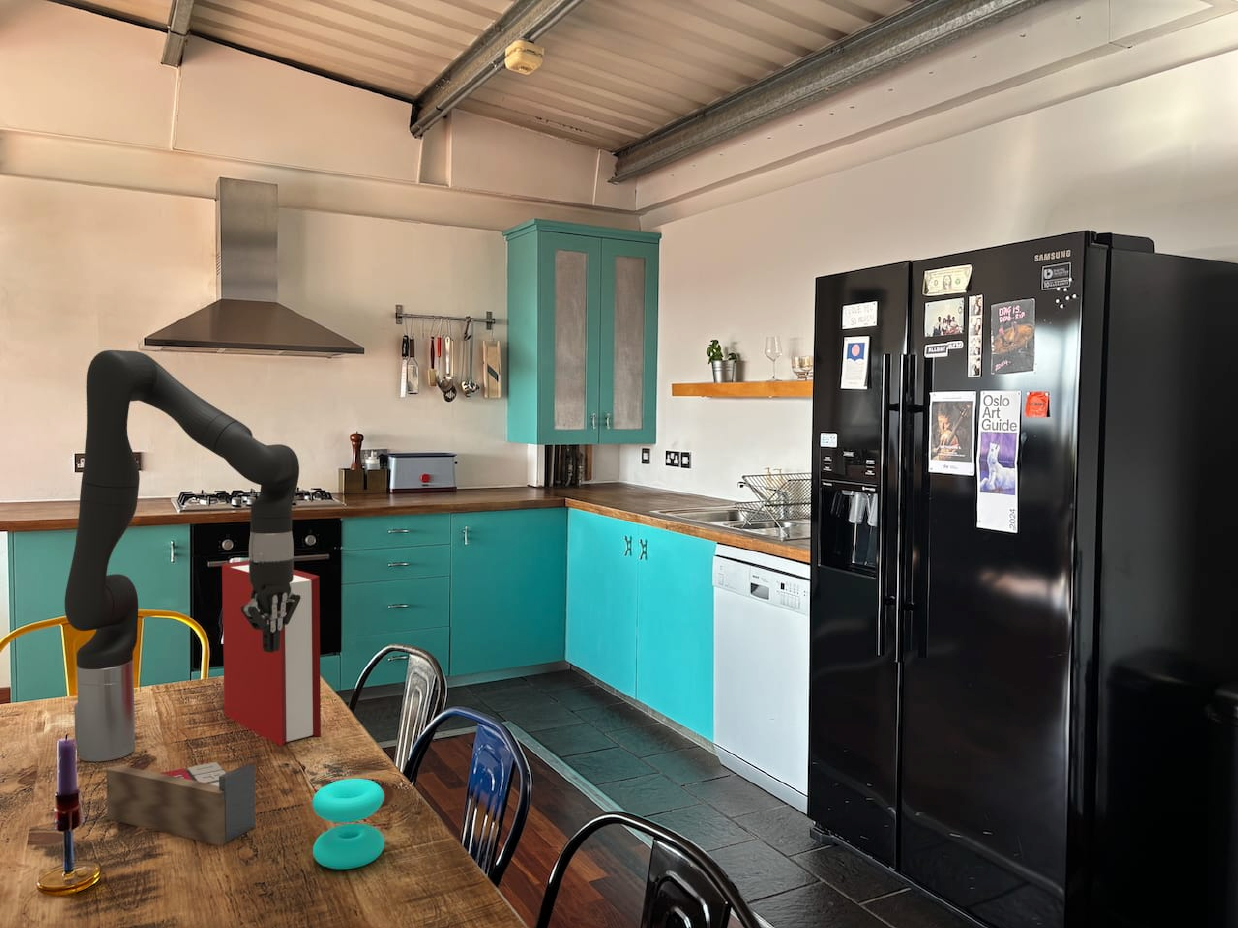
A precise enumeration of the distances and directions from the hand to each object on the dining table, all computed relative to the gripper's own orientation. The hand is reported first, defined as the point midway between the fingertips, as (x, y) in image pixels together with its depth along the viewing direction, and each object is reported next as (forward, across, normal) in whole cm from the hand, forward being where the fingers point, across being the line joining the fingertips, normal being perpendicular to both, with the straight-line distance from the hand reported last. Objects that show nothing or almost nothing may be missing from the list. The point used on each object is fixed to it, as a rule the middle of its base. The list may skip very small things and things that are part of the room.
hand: (271, 651), depth 170 cm
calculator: (+22, +17, -1) cm, 27 cm away
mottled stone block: (+21, +24, +4) cm, 32 cm away
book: (+22, -17, -16) cm, 31 cm away
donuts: (+21, +23, +35) cm, 47 cm away
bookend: (+21, +24, +15) cm, 35 cm away
